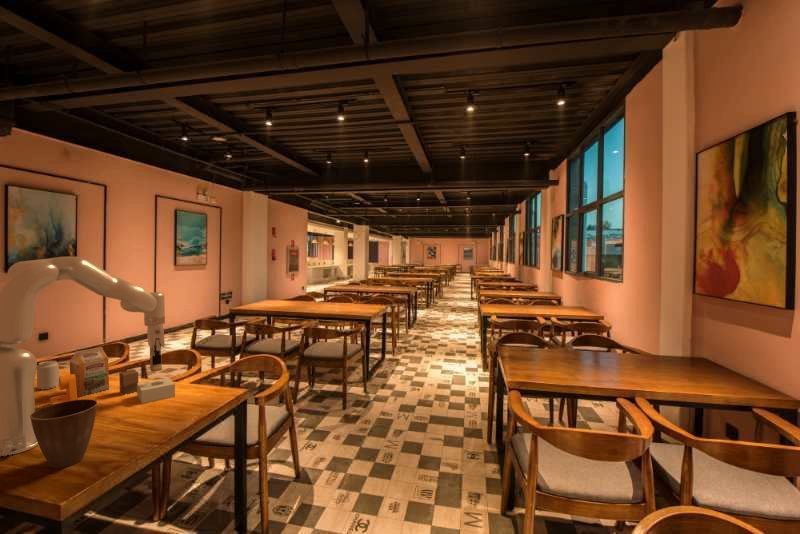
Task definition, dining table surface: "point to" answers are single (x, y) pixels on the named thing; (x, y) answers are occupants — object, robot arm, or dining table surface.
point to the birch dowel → (154, 367)
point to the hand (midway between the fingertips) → (155, 362)
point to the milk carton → (90, 371)
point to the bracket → (70, 386)
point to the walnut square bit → (128, 381)
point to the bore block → (155, 390)
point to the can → (47, 375)
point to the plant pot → (64, 430)
